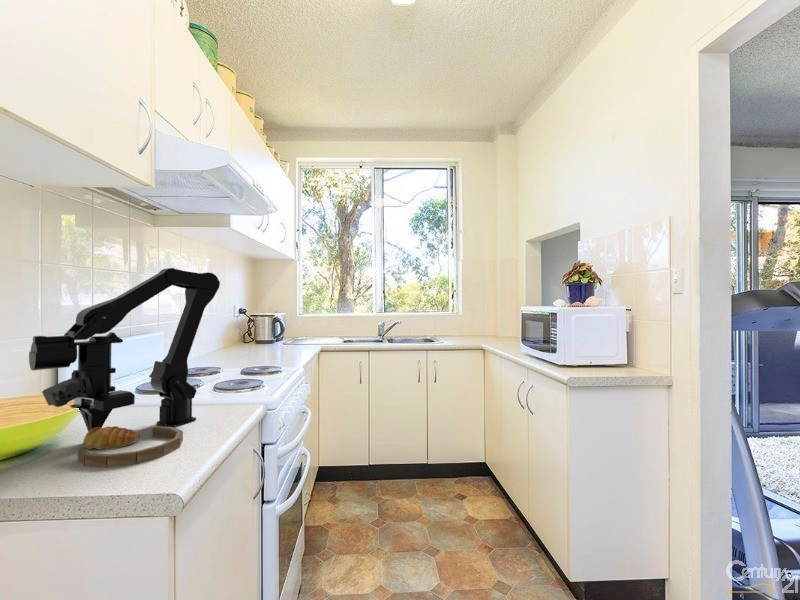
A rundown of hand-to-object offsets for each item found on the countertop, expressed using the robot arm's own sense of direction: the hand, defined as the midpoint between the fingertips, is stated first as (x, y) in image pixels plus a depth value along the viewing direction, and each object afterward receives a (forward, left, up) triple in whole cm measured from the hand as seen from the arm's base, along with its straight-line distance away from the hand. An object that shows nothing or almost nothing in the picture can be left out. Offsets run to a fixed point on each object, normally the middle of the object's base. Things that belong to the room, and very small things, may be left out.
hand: (93, 436), depth 84 cm
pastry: (0, +5, -2) cm, 5 cm away
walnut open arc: (0, +15, -1) cm, 16 cm away
